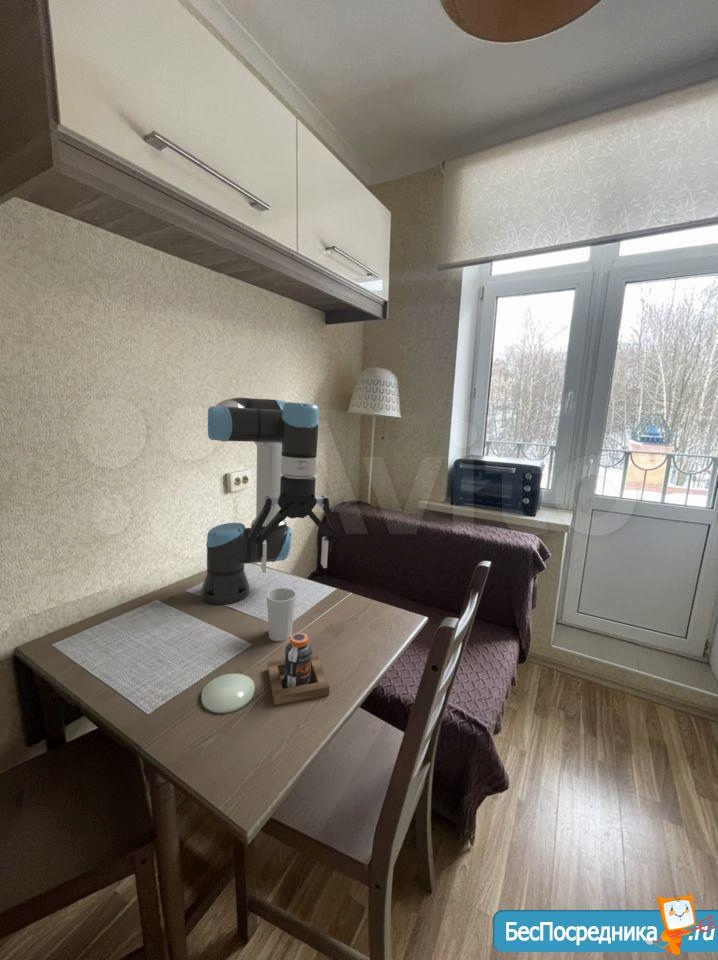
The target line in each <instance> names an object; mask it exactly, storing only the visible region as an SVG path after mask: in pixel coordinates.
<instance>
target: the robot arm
mask: <svg viewBox="0 0 718 960" xmlns="http://www.w3.org/2000/svg"><path fill="white" fill-rule="evenodd" d="M319 411H320V410H319V406H318V405H317V404H315V403H303V402H289V401H288V402H287V401H285V400H279V399H268V398H267V399H266V398H251V397H233V398H228V399H224V400H222V401H219V402H218V403H217V404H215V405H214V406H212V405H211V406H210V407H209V408H208V409H207V437H208V439H209V440H212V441H220V442H226V443H227V442H247V443H248V442H252V443H254V444H255V445H256V492H255V494H256V502H255V503H256V505H255V506H256V508H255V509H256V512H255V517H254V519H253V520H252V521H251V524H250V525H251V526H250V527H246V526H245V524H244V523H242V522H227V523H222V524H219V525H216V526H214V527H212V528H210V529H209V530H208V532H207V533H206V535H207V536H206V544H205V547H206V575H205V577H204V581H203V583H202V587H201V590H200V595H201V599H202V600H203V601H204V602H206V603H209V604H212V605H230V604H233V603H235V604H236V603H238V602H240V601H243V600H244V599H246V598H247V596H249V594H250V583H249V581H248V579H247V578H248V577H247V574H246V570H245V565H246V564H256V563H257V564H259V563H261V566H260V567H261V571H262V574H265V573H267V563H270V562H271V563H275V562H281V561H285V560H286V559H287V558H288V557H289V555H290V551H291V548H292V539H293V538H292V534H293V533H292V529H291V526H289V525H287V524H288V523H287V522H288V521H286V519H287V518H289V519H297V518H299V519H305V518H306V517H307V516H309V518H310V519H311V520H312V522H313V523H314V524H315V526H317V527H318V528H319V530H320V531H321V532H322V534H323V535H324V536H322V538H321V551H320V552H321V553H320V554H321V556H320V565H321V566H322V568H323V569H327V568H328V555H329V554H331V553H332V551H333V542H334V540H335V538H340V537H341V536H342V533H341V530H340V529H339V526H338V524H337V522H336V519H335V517H334V514H333V513H332V509H331V508H330V500H329V498H328V497H327V496H326V495H321V497H316V480H317V479H316V477H315V475H316V474H317V456H318V455H317V454H318V438H319V424H320V418H319V417H320V415H319V414H320V413H319ZM316 505H318V507H320V508H322V511H323V514H324V515H325V516H326V519H327V521H328V523H329V524H328V525H329V526H330V528H331V531H329V529H327V527H326V526H325V525H324V523H323V522H322V521H321V520H320V518H318V516H317V515H316V514H315V512H314V511H313V509H314V508H315V507H316Z"/></svg>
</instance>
